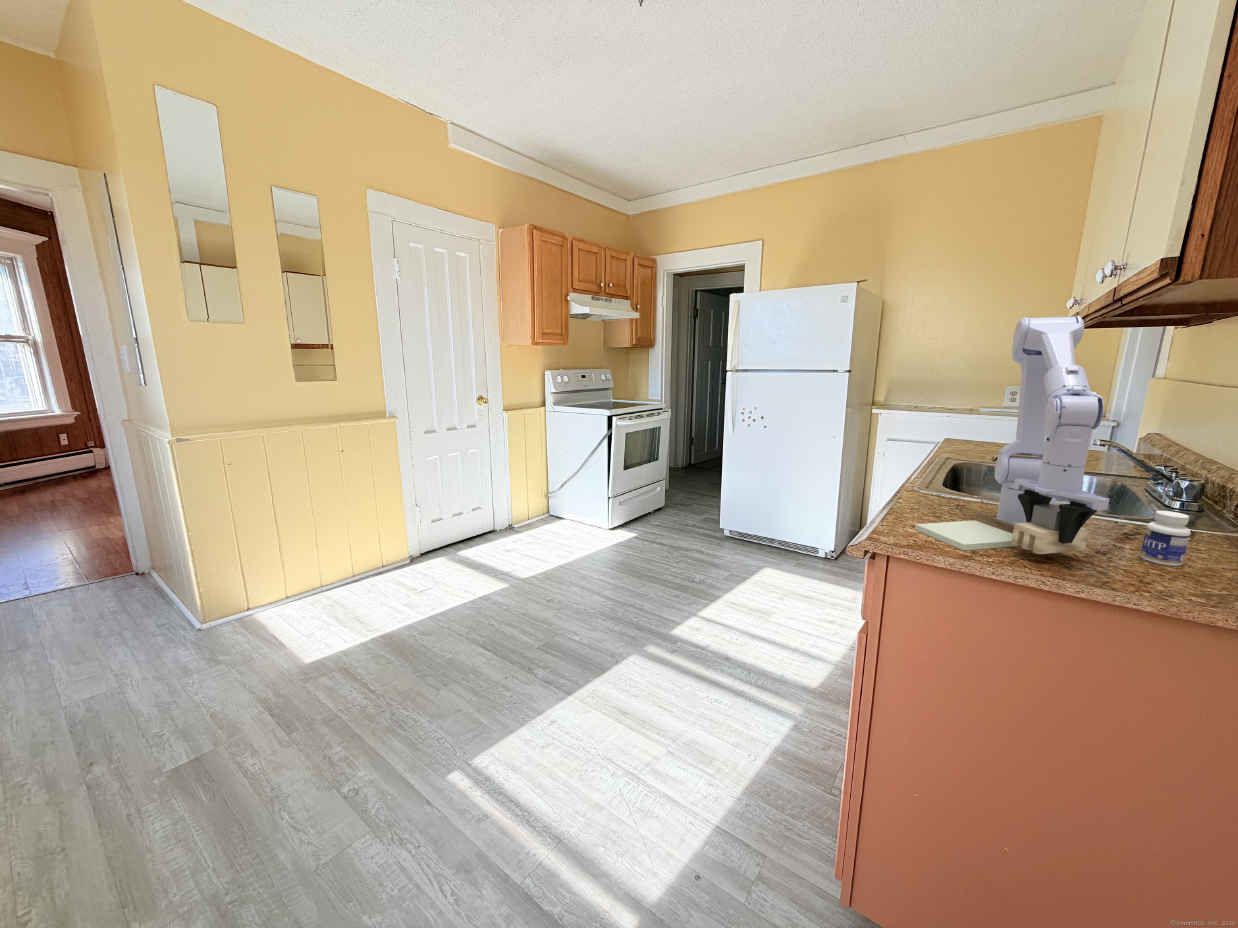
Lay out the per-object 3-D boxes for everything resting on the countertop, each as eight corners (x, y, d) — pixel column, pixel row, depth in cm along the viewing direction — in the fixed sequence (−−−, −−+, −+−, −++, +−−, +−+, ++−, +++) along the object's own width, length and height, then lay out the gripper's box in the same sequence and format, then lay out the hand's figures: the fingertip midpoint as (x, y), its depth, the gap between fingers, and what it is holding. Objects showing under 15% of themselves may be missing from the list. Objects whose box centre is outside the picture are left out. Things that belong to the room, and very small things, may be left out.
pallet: (1055, 540, 92) (1059, 520, 91) (1084, 550, 87) (1088, 529, 87) (1011, 543, 90) (1014, 523, 90) (1038, 554, 86) (1042, 532, 85)
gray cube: (1048, 522, 90) (1052, 503, 90) (1072, 529, 87) (1075, 510, 86) (1030, 523, 90) (1034, 505, 89) (1053, 530, 86) (1057, 511, 85)
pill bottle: (1130, 554, 91) (1141, 509, 89) (1160, 555, 90) (1171, 509, 89) (1161, 566, 85) (1172, 518, 84) (1192, 566, 85) (1204, 518, 83)
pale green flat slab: (978, 525, 107) (980, 513, 106) (1033, 545, 95) (1035, 531, 95) (914, 529, 104) (916, 517, 104) (963, 550, 93) (965, 536, 92)
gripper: (1005, 456, 92) (993, 525, 95) (1090, 473, 78) (1074, 553, 81) (1036, 455, 93) (1023, 523, 96) (1125, 472, 79) (1108, 550, 82)
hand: (1049, 537), depth 89 cm, fingers closed on pallet, 5 cm apart
